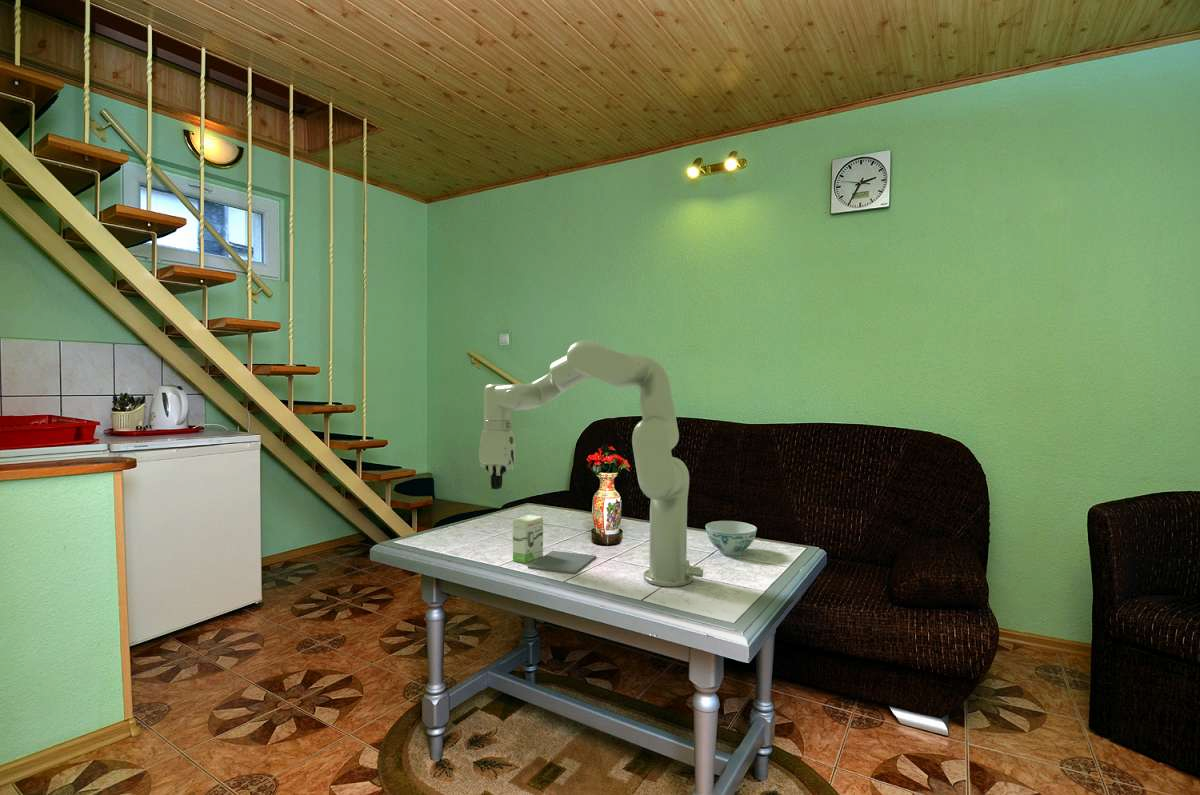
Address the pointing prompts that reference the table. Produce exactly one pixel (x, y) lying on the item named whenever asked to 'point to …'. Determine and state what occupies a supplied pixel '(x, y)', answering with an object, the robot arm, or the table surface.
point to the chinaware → (731, 536)
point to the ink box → (527, 538)
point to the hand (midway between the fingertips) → (496, 488)
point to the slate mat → (562, 562)
